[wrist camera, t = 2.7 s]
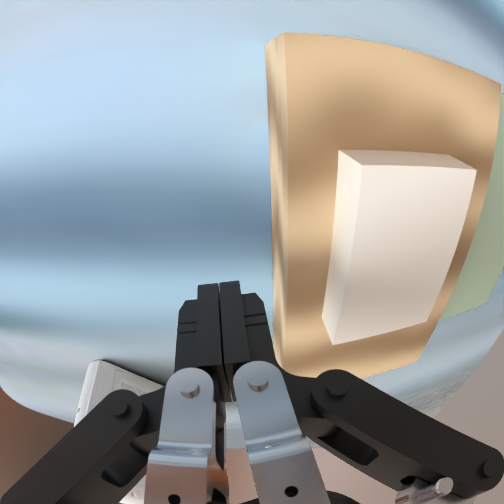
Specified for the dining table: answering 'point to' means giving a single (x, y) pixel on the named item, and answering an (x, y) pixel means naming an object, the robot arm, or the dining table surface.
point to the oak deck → (326, 168)
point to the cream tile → (392, 239)
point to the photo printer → (98, 387)
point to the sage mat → (484, 241)
